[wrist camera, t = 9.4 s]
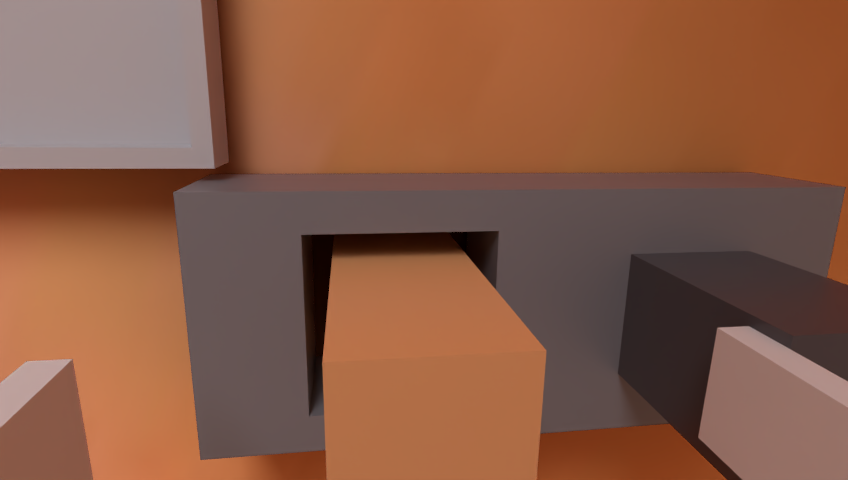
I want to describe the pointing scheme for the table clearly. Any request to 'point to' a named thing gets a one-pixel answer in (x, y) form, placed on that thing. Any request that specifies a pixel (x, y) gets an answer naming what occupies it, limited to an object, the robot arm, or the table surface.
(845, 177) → the table surface
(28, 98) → the tray
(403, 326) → the plug
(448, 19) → the table surface
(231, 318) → the strip
